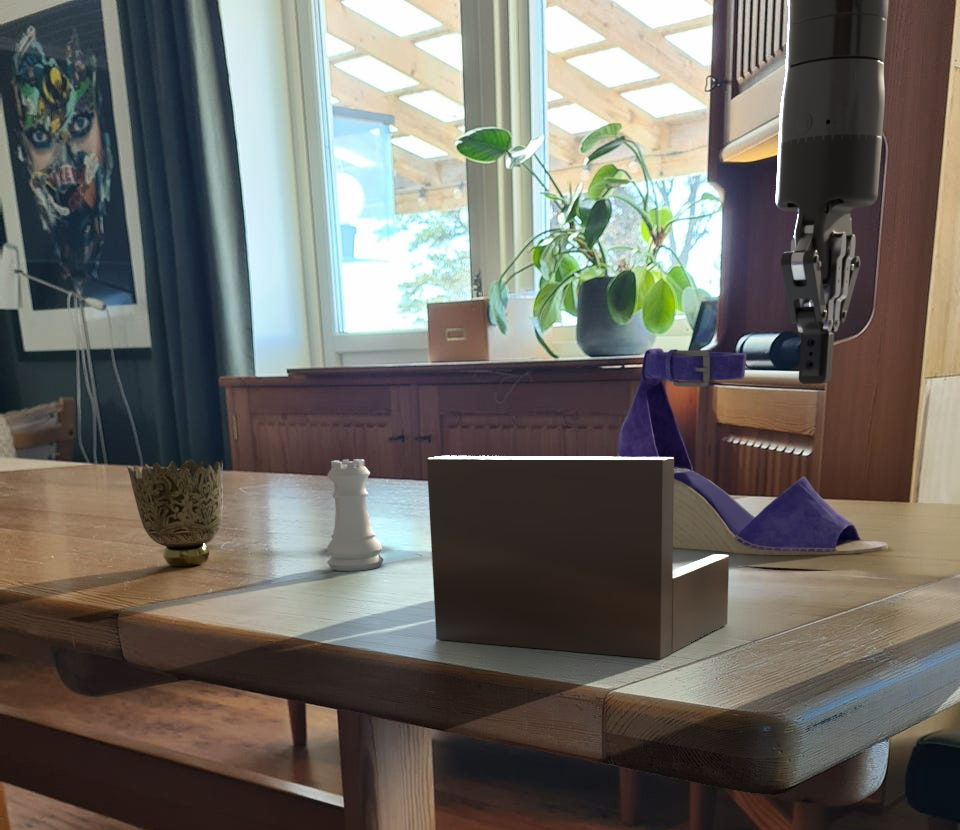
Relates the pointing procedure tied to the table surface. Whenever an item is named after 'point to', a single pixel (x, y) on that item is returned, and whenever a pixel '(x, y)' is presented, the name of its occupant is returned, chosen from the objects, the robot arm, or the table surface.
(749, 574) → the table surface
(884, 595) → the table surface
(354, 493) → the rook chess piece
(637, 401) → the sandal
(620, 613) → the brown stepped block
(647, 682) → the table surface
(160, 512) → the cup
